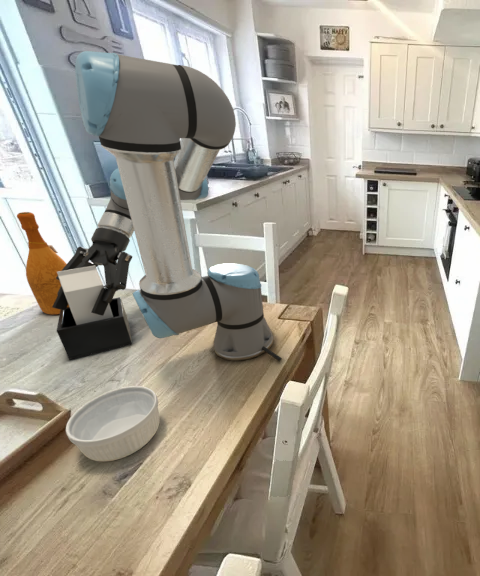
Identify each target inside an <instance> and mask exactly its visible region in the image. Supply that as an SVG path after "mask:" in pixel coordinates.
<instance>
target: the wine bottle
mask: <svg viewBox="0 0 480 576" xmlns="http://www.w3.org/2000/svg"><path fill="white" fill-rule="evenodd" d="M16 217H17V220H18V222H19V223H20V226H21V229H22V230H23V231H25V234H26V237H27V246H28V254H27V259H26V264H25V265H26V266H25V278H26V281H27V283H28V286H29V288H30V290H31V292H32V295H33V297H34V299H35V301H36V302H37V305H38V306H39V308H40V310H41V312H43V313H44V314H46V315H60V309H56V308H52V306H53V304H54V302H55V300H56V298H57V296H58V295H57V293H58V291H59V289H60V287H61V283H60V281H59V280H57V279H56V277H57V276H58V274H57V272H59V271H62V269H63V268H64V267H65V266H66V264H67V262H66V261H65V260H64V259H63V258H61V256H59V255H58V253H59V252H58V251H57V249H56V248H55V247H54V246H53V245H52V244H48V242H46V241H45V239H44V238H43V236H42V235H41V233H40V231H39V228H40V226H39V224H38V223H37V220H36V215H35V214H34V213H33V212H30V211H22V212H18V213H17V214H16ZM67 307H69V304H68V306H67Z"/></svg>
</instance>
